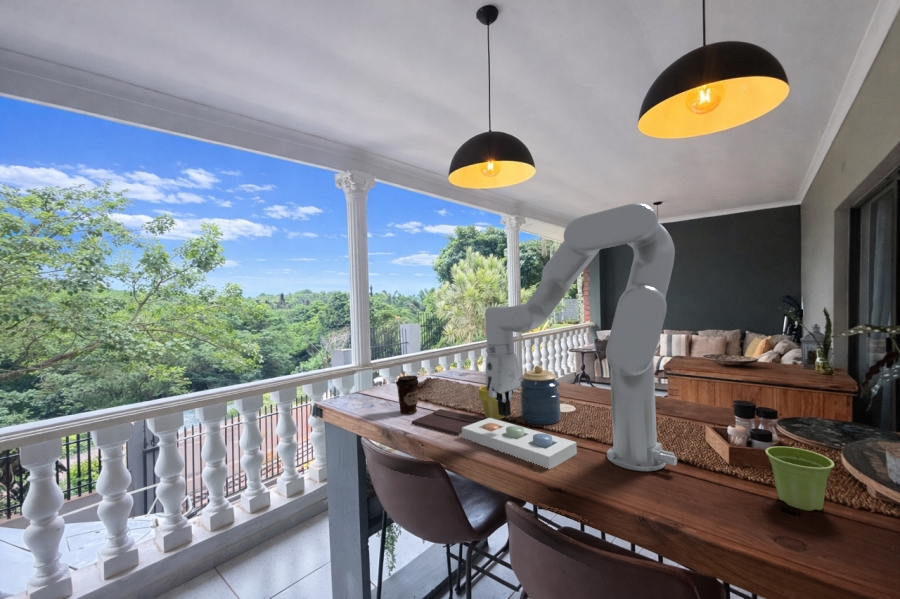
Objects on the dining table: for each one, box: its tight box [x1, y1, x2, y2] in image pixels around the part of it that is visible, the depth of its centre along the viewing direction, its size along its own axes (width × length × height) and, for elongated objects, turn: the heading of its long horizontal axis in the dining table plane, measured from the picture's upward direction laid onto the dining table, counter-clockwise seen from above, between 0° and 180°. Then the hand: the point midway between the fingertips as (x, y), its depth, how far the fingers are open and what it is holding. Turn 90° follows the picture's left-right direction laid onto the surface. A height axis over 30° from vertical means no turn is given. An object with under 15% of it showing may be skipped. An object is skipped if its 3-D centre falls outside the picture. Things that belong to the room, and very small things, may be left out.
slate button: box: [533, 433, 552, 449], centre depth 96 cm, size 5×5×3 cm
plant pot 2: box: [765, 445, 835, 511], centre depth 70 cm, size 9×9×9 cm
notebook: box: [411, 408, 487, 437], centre depth 124 cm, size 15×20×2 cm
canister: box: [519, 365, 562, 426], centre depth 124 cm, size 13×13×18 cm
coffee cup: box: [395, 375, 419, 415], centre depth 138 cm, size 9×8×13 cm
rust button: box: [483, 423, 499, 432], centre depth 109 cm, size 5×5×3 cm
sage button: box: [506, 425, 525, 440], centre depth 103 cm, size 5×5×3 cm
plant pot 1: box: [478, 385, 506, 420], centre depth 128 cm, size 10×10×10 cm
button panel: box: [461, 418, 578, 470], centre depth 103 cm, size 30×12×3 cm, turn 41°
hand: (504, 414), depth 106 cm, fingers closed
